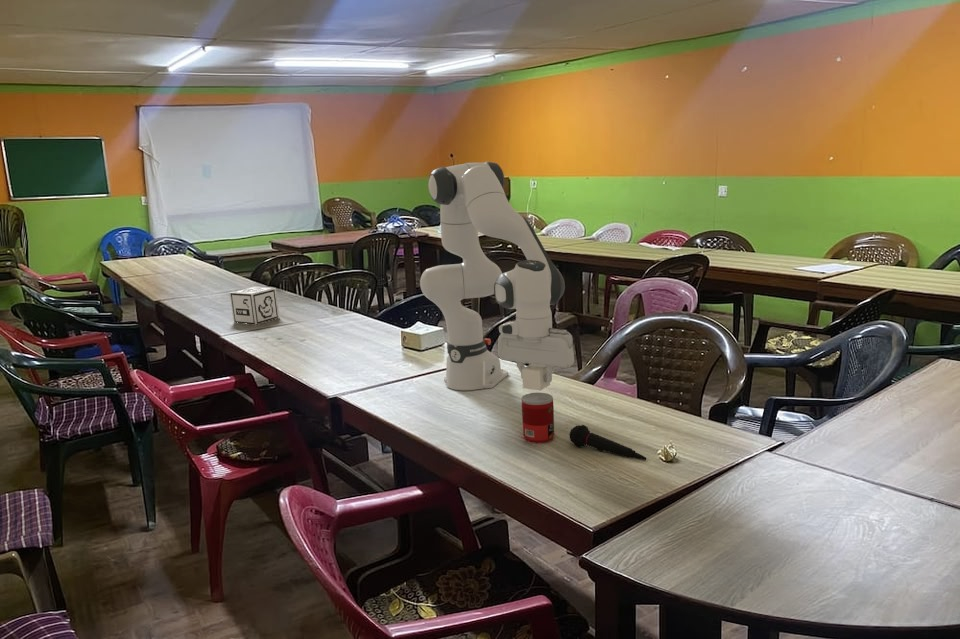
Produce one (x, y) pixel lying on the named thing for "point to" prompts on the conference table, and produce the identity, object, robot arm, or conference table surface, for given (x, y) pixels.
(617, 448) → the microphone
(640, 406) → the conference table surface
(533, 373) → the cream cube
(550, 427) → the canned food
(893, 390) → the conference table surface
